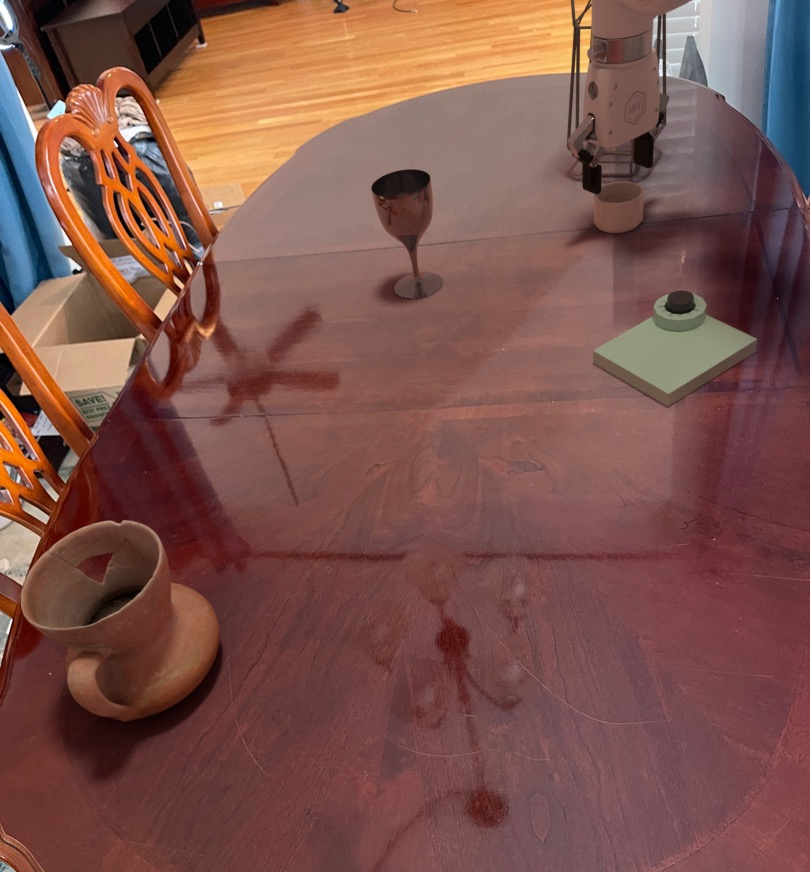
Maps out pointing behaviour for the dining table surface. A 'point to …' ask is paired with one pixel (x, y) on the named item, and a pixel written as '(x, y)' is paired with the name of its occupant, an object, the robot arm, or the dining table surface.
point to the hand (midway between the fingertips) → (617, 178)
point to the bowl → (619, 207)
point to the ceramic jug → (122, 621)
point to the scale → (674, 352)
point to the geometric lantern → (577, 55)
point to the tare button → (680, 302)
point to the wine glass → (407, 223)
